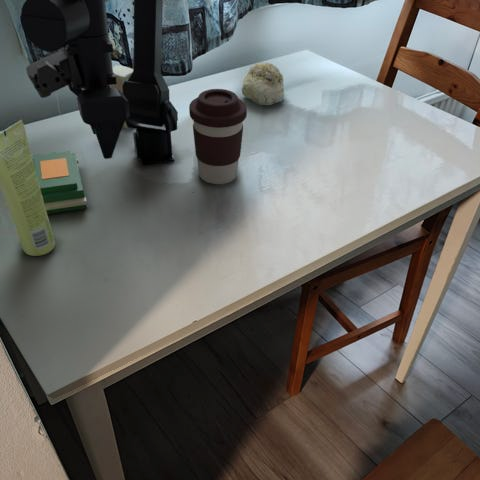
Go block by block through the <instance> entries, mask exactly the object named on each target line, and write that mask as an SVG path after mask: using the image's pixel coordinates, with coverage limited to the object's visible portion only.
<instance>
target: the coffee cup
mask: <svg viewBox="0 0 480 480" xmlns="http://www.w3.org/2000/svg"><path fill="white" fill-rule="evenodd" d="M188 109H189V112H188V113H189V117H190V119H191V120H192V121H193V123H192V131H193V142H194V150H195V151H194V152H195V156H196V160H197V169H198V176H199V177H200V178H201V179H202V181H204V182H206V183H208V184H212V185H225V184H229V183H231V182H232V181H234V180H235V179H236V177H237V175H238V170H239V159H240V158H241V151H242V142H243V134H244V124H243V123H244V121H245V120H246V119H247V113H248V106H247V104H246V102H245V101H244V100H243V99H241V98H239V96H238V95H237V94H236V93H235V92H234V91H231V90H229V89H224V88H211V89H206V90H204V91H202V92H201V93H199V94H198V96H197V97H196V98H194V99H192V101H190V103H189V106H188Z"/></svg>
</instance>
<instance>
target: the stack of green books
mask: <svg viewBox="0 0 480 480" xmlns="http://www.w3.org/2000/svg"><path fill="white" fill-rule="evenodd" d="M76 155H77V154H76V153H75V152H71V150H65V151H57V152H48V153H39V154H33V157H32V159H33V163H34V167H35V171H36V175H37V179H38V182H39V186H40V190H41V194H42V197H43V201H44V205H45V208H46V212H47V215H49V214H50V215H51V214H57V213H64V212H70V211H76V210H82V209H83V210H84V209H87V208H88V206H87V205H88V201H87V197H86V196H85V191H84V188H83V187H84V186H83V182H82V177H81V173H80V170H79V169H80V168H79V159H78V156H76Z"/></svg>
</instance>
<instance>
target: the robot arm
mask: <svg viewBox="0 0 480 480" xmlns="http://www.w3.org/2000/svg"><path fill="white" fill-rule="evenodd" d="M163 5H164V0H133V68H132V69H133V72H132V74H131V76H130V77H129V79H128V81H125V82H124V84H123V86H122V88H123V93H122V92H121V91H119V90H118V89H117V88H116V87H114V88H110V85H113V84H117V81H116V76H115V74H114V73H113V68H112V67H113V61H112V53H114V47H113V46H114V45H113V42H112V41H111V40H110V34H109V25H108V16H107V7H106V0H25V1H24V2H23V4H22V7H21V10H20V11H21V12H20V16H19V18H20V26H21V27H22V31H23V32H24V34H25V36H26V38H27V39H28V41H30V43H31V44H33V46H35V47H36V48H38V49H40V50H41V51H44V52H48V53H51V54H49V55H47V56H45V57H42V58H40V59H38V60H36V61H34V62H32V63H30V64H28V66H26V67H25V71H26V74H27V77H28V79H29V80H30V81H31V84H32V85H33V87H34V89H35V91H36V92H37V94H38V95H39V97H40V98H41V99H44V98H47V97H48V98H49V97H50V96H51V95H52V93H54V92H57V91H59V90H61V89H63V88H65V87H68V89H69V91H70V92H72V94H74V95H75V96H77V97H76V101H77V107H78V112H79V115H80V117H81V120H82V122H83V123H84V124H85V125H89V126H90V129H91V131H92V134H93V135H95V136H96V139H97V142H98V145H99V149H100V151H101V154H102V156H103V159H105V160H108V159H109V160H110V159H112V158H113V156H114V153H115V150H116V146H117V143H118V140H119V137H120V135H121V132H122V130H123V128H124V127H123V125H124V123H125V122H126V125H127V128H131V129H134V130H135V131H133V132H132V137H133V144H134V145H133V146H134V152H135V155H136V158H137V159H139V161H140V163H141V165H142V166H149V165H156V164H162V163H171V162H174V161H175V160H176V159H175V156H174V153H173V145H172V143H173V142H172V132H175V131H177V130H178V122H179V121H178V120H179V116H178V115H179V113H178V110H177V109H176V108H175V106H174V104H173V103H172V101H170V88H169V86H168V84H167V82H166V80H165V78H164V76H163V74H162V48H163V47H162V44H163V39H162V38H163V13H164V12H163V11H164V10H163V9H164V6H163ZM60 49H62V50H60ZM53 52H54V53H53ZM127 128H126V129H127Z"/></svg>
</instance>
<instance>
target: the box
mask: <svg viewBox="0 0 480 480" xmlns="http://www.w3.org/2000/svg"><path fill="white" fill-rule="evenodd" d="M112 68H113V73H114V74H115V76H116V81H117V84H113V85H110V88H114V87H116V88H117V89H118V90H119V91H121V92H122V93H123V88H122V86H123V84H124V82H125V81H128V79H129V77H130V76H131V74H132V72H133V68H131V67H129V66H124V65H121V64H116V65H115V66H112ZM122 128H125V129H127V130H131V129H132V128H127V125H126V122H125V123H124V125H123V127H122Z"/></svg>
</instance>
